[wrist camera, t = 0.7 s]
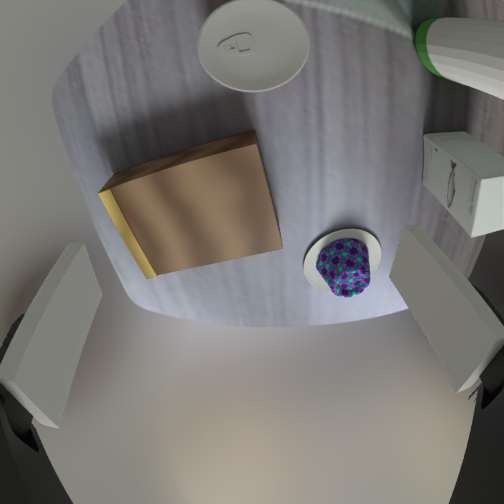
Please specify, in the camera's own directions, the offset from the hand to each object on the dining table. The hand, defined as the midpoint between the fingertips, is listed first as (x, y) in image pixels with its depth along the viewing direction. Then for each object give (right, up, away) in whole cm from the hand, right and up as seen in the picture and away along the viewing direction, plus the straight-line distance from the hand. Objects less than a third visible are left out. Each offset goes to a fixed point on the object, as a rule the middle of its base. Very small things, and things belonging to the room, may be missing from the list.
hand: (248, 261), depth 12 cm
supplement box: (+25, +13, +21) cm, 36 cm away
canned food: (0, +21, +14) cm, 26 cm away
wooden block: (-7, +7, +25) cm, 27 cm away
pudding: (+13, -1, +32) cm, 35 cm away
